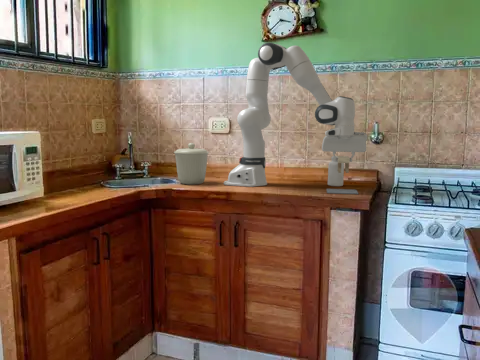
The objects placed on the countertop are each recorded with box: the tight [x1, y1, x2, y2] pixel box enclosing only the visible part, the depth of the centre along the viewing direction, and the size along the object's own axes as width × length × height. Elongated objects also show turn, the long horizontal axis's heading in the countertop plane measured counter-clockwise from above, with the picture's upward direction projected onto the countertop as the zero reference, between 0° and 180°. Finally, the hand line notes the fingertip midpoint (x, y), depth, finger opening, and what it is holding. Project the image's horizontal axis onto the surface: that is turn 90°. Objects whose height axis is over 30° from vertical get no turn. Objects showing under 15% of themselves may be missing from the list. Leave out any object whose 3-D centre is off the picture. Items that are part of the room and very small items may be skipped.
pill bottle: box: [327, 155, 345, 187], centre depth 237 cm, size 8×8×15 cm
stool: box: [337, 155, 351, 174], centre depth 215 cm, size 8×5×7 cm, turn 171°
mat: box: [326, 188, 359, 195], centre depth 216 cm, size 14×12×1 cm
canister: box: [173, 142, 210, 186], centre depth 238 cm, size 18×18×21 cm
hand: (343, 161), depth 215 cm, fingers closed on stool, 5 cm apart
